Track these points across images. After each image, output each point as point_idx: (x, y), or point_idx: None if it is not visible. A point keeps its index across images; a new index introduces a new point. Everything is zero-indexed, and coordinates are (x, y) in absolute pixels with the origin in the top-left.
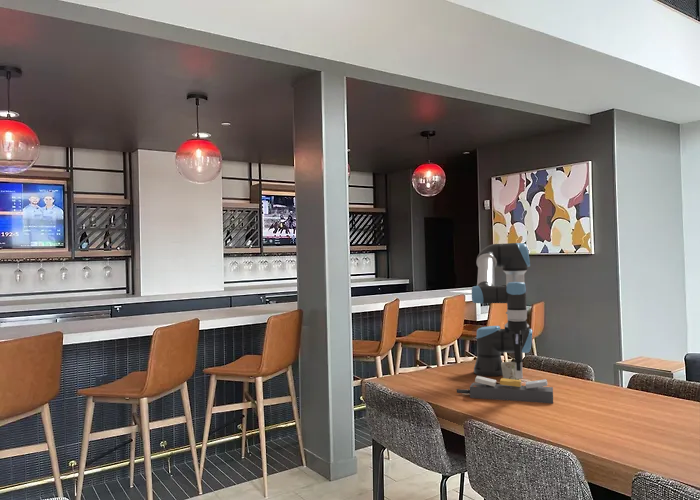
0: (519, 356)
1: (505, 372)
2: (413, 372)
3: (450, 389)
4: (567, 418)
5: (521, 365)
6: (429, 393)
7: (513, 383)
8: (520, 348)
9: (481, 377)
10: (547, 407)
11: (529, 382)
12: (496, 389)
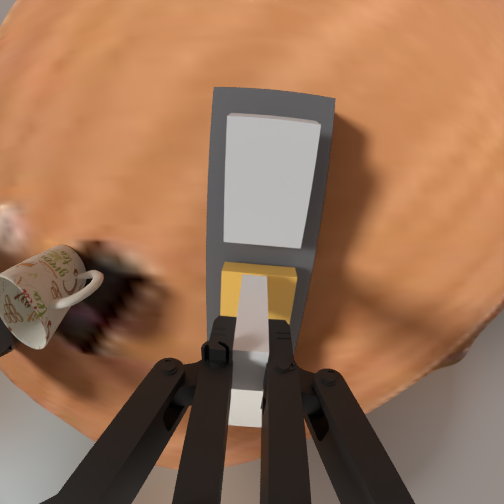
0: (359, 418)
1: (61, 319)
2: (82, 432)
3: (189, 415)
4: (489, 113)
5: (267, 337)
6: (246, 441)
7: (291, 308)
8: (391, 485)
9: (235, 413)
10: (388, 141)
11: (257, 225)
12: (293, 350)
